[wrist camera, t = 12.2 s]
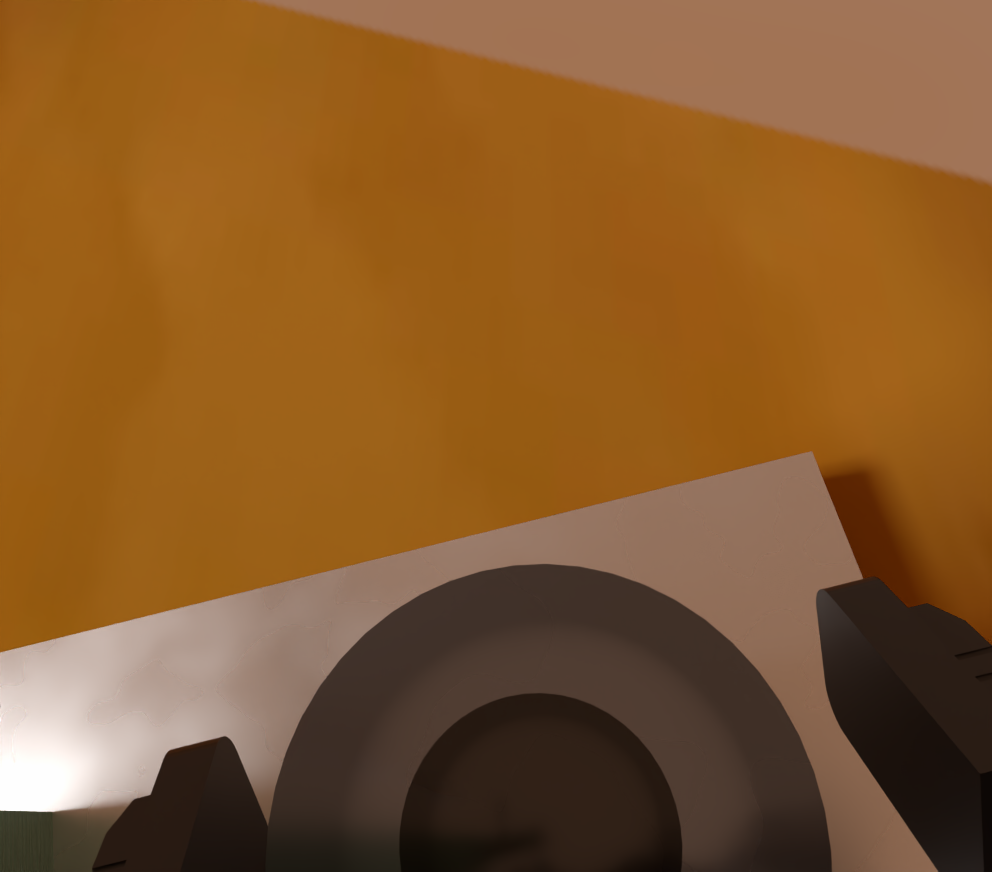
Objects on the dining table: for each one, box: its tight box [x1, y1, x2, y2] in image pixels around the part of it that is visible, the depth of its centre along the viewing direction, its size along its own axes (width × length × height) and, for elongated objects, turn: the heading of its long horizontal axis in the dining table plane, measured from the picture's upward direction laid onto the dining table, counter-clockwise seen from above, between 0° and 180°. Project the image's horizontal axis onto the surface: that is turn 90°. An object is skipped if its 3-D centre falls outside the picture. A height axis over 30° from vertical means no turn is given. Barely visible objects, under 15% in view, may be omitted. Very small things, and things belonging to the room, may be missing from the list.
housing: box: [265, 564, 832, 872], centre depth 13 cm, size 5×5×10 cm
